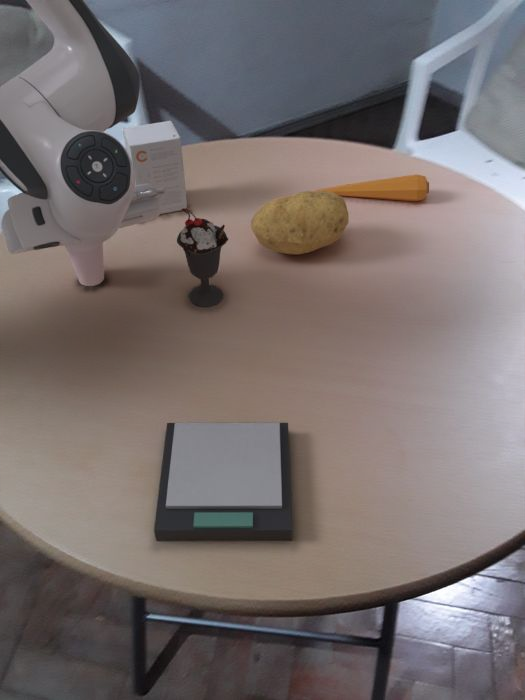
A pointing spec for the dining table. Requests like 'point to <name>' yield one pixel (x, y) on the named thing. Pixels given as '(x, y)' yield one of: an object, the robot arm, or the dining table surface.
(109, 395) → the dining table surface
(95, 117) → the robot arm
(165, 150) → the small box
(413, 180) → the carrot
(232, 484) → the scale
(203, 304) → the sundae
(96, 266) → the smoothie
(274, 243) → the potato
